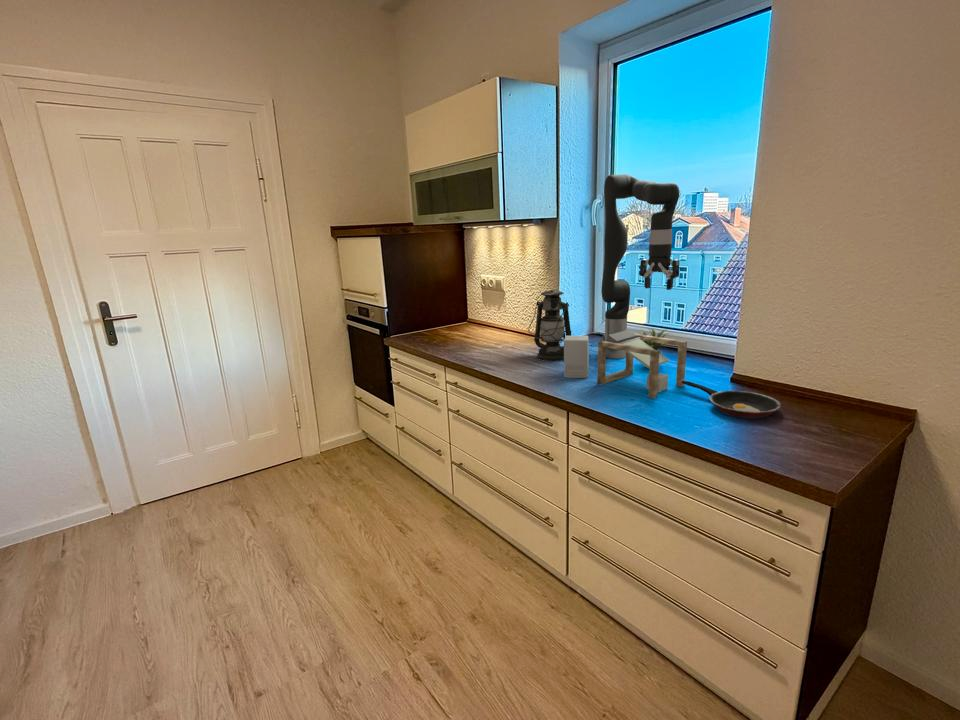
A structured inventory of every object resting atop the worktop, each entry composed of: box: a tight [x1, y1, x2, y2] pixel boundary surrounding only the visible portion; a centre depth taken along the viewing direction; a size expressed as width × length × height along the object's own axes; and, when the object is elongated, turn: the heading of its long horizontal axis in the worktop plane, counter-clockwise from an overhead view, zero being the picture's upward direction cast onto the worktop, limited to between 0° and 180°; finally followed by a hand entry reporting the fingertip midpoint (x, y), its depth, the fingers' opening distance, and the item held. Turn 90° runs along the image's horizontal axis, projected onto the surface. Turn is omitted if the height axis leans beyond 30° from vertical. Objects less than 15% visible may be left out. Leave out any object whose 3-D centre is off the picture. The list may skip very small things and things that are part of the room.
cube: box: [646, 372, 669, 393], centre depth 166 cm, size 5×5×5 cm
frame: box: [596, 333, 688, 399], centre depth 170 cm, size 23×19×16 cm
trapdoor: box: [606, 329, 670, 369], centre depth 171 cm, size 19×14×5 cm
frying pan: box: [681, 380, 782, 419], centre depth 150 cm, size 19×32×4 cm, turn 27°
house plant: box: [636, 327, 671, 368], centre depth 191 cm, size 14×14×16 cm
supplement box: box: [563, 335, 590, 379], centre depth 186 cm, size 9×9×15 cm
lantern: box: [527, 289, 572, 362], centre depth 210 cm, size 19×19×30 cm
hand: (658, 288), depth 173 cm, fingers open, 8 cm apart
